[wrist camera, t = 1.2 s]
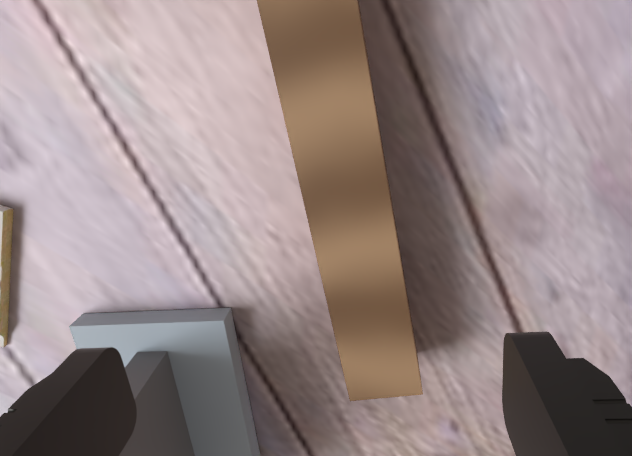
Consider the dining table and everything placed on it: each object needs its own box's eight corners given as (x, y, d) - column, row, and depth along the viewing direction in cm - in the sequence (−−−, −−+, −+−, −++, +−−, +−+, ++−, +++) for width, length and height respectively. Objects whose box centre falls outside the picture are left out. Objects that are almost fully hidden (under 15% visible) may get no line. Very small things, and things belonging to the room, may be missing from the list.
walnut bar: (258, -71, 22) (235, -94, 18) (342, -95, 21) (335, -125, 18) (352, 356, 30) (350, 401, 26) (416, 349, 29) (422, 394, 25)
